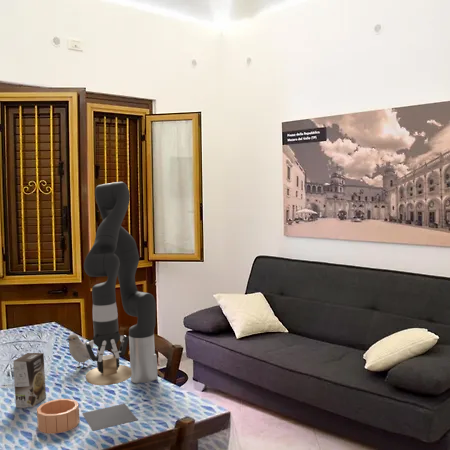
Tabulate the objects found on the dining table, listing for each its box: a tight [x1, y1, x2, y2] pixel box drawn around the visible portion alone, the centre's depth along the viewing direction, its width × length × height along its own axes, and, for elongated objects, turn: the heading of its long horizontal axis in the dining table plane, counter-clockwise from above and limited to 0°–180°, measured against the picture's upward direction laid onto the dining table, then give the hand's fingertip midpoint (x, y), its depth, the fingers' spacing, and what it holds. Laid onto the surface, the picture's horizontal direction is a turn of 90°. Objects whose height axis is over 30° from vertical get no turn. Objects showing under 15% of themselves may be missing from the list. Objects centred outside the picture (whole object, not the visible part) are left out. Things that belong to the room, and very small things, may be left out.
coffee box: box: [12, 352, 47, 409], centre depth 181 cm, size 9×6×16 cm
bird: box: [65, 333, 93, 370], centre depth 214 cm, size 5×14×15 cm, turn 148°
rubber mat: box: [81, 403, 138, 432], centre depth 168 cm, size 14×14×1 cm
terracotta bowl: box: [36, 398, 81, 434], centre depth 164 cm, size 12×12×6 cm
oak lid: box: [85, 353, 132, 386], centre depth 167 cm, size 14×14×6 cm
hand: (108, 370), depth 167 cm, fingers closed on oak lid, 4 cm apart
